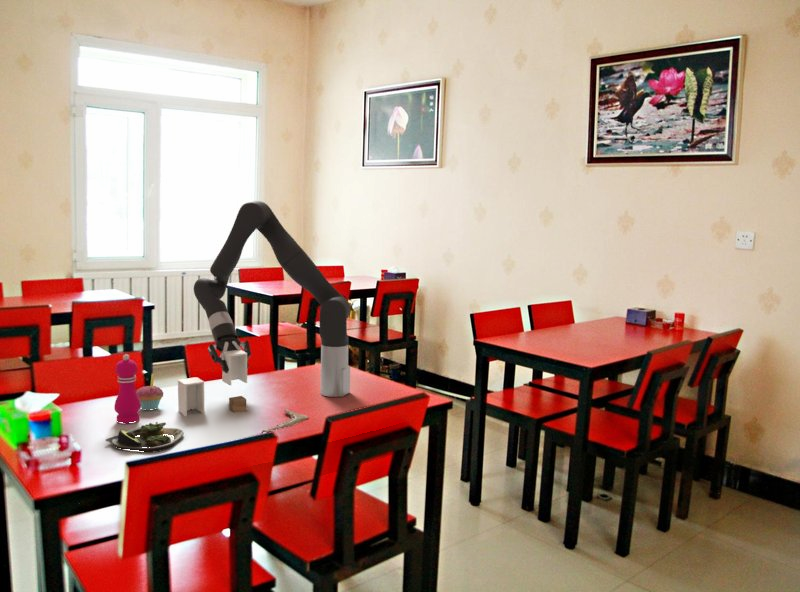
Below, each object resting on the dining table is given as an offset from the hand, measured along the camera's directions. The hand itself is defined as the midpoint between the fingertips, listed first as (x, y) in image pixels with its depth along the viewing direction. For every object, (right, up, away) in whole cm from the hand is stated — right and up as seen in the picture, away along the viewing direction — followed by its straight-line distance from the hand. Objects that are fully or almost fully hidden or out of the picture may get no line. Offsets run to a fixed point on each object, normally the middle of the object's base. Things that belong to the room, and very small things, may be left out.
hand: (236, 370), depth 225 cm
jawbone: (+17, -14, -19) cm, 29 cm away
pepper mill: (-27, -13, -21) cm, 37 cm away
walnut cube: (+2, -12, -9) cm, 15 cm away
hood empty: (-11, -12, -12) cm, 20 cm away
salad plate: (-16, -16, -37) cm, 43 cm away
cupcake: (-25, -11, -9) cm, 29 cm away
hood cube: (-1, -4, +2) cm, 5 cm away
